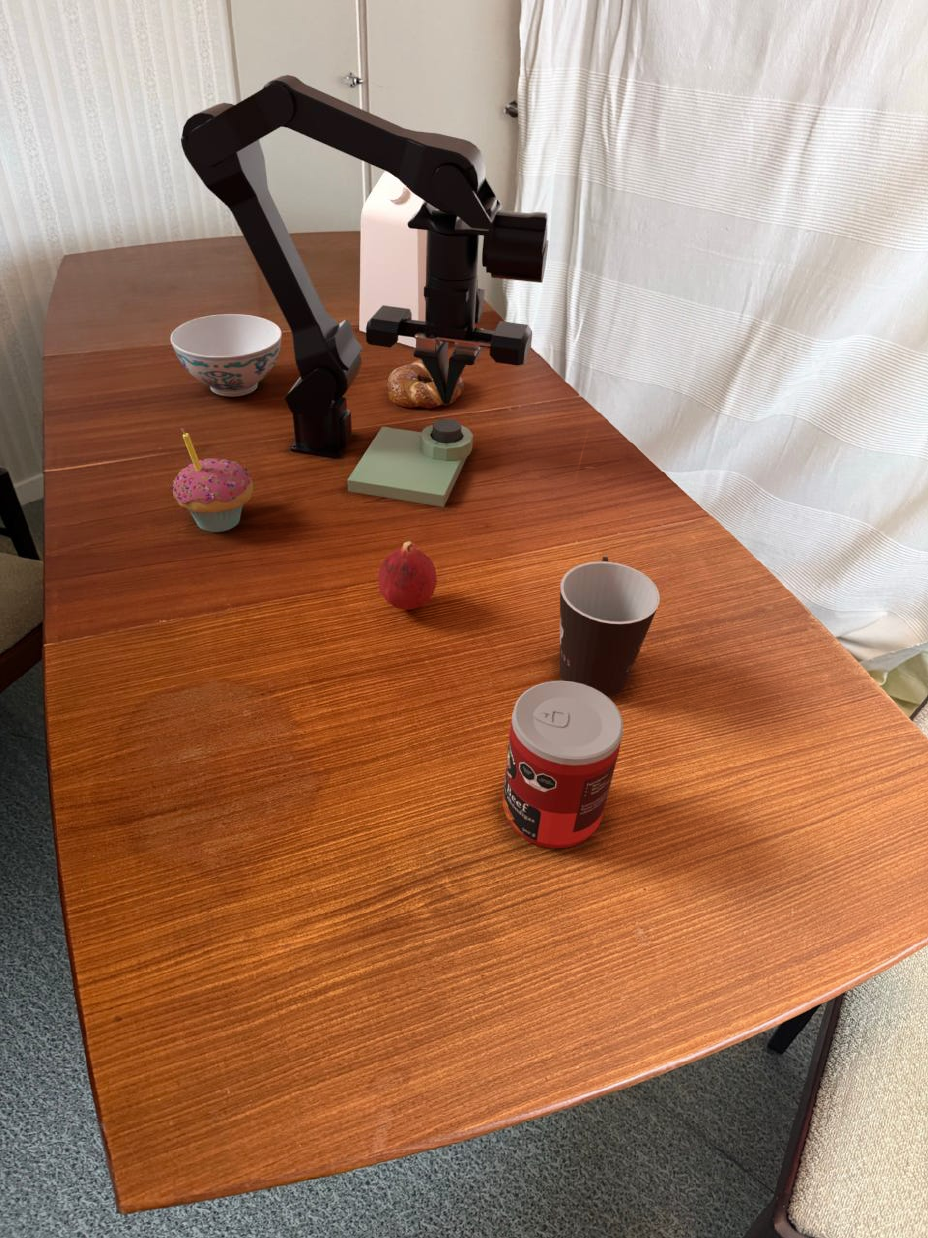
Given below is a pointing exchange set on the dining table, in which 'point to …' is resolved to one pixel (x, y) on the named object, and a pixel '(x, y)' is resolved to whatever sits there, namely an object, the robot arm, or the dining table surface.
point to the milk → (391, 253)
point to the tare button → (446, 431)
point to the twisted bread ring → (416, 387)
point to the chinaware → (228, 351)
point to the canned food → (560, 762)
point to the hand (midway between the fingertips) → (447, 402)
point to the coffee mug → (604, 623)
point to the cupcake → (212, 490)
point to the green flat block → (411, 466)
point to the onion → (407, 577)
